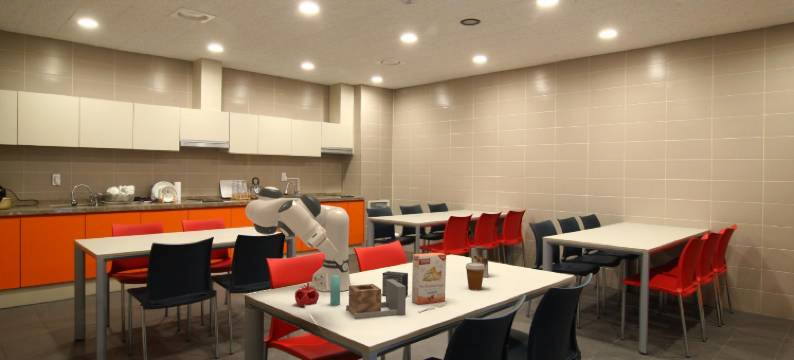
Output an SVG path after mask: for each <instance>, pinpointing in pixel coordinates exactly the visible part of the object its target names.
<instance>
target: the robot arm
mask: <svg viewBox="0 0 794 360" xmlns="http://www.w3.org/2000/svg"><path fill="white" fill-rule="evenodd" d="M283 194H284V193H283V192H282V191H281V190H280V189H279V188H277V187H275V186H266V187H262V188H261V189H260V190H259V192H258V198H257V199H253V200H252V201H251V200H250V201H249V202H248V204H247V205H245V210H244V211H245V216H246V217H247V219H248V220H249V221H251V222H252V223H253V227H254V230H255V232H257V233H258V234H261V235H263V236H270V235H274V234H276V232H277V231H278V230H279V231H280V232H281V233H282V235H284V236H285V238H295V237H298V239H300V240H301V242H302V243H304V245H306V247H308V248H313V249H317V250H318V251H319V252H321V253H322V254H323V255H325V256H324V259H321V263H322V266H321V267H320V268H318V270H316V271H315V272H314V273H313V274H312V278H311V279H312V280H311V282H308V283H309V287H310V286H311V287H312V285H313V287H315V288H313V287H312V288H311V289H314V290H316V291H318V292H323V293H324V292H330V290H331V275H340V292H344V291H349V286H351V285H352V283H351V276H350V269H349V268H350V258H349V240H350V239H349V236H350V234H349V233H350V217H349V214H348V212H347V211H346V209H344V208H343V207H340V206H333V205H327V204H326V205H324V204H321V202H320V200H319V199H318V198H317V197H316V196H314V195H312V194H308V193H307V194H302V195H300V196H299V195H298V196H296V195H294V196H289V195H288V196H284V195H283Z"/></svg>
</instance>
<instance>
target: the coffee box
mask: <svg viewBox="0 0 794 360" xmlns="http://www.w3.org/2000/svg"><path fill="white" fill-rule="evenodd" d="M470 249H471V250H470V251H471V258H470V259H471V260H470V261H471V262H470V263H481V264H484V267H485V269H484V274H483V278H486V279H487V278H489V247H488V246H476V245H475V246H471V248H470Z"/></svg>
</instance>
